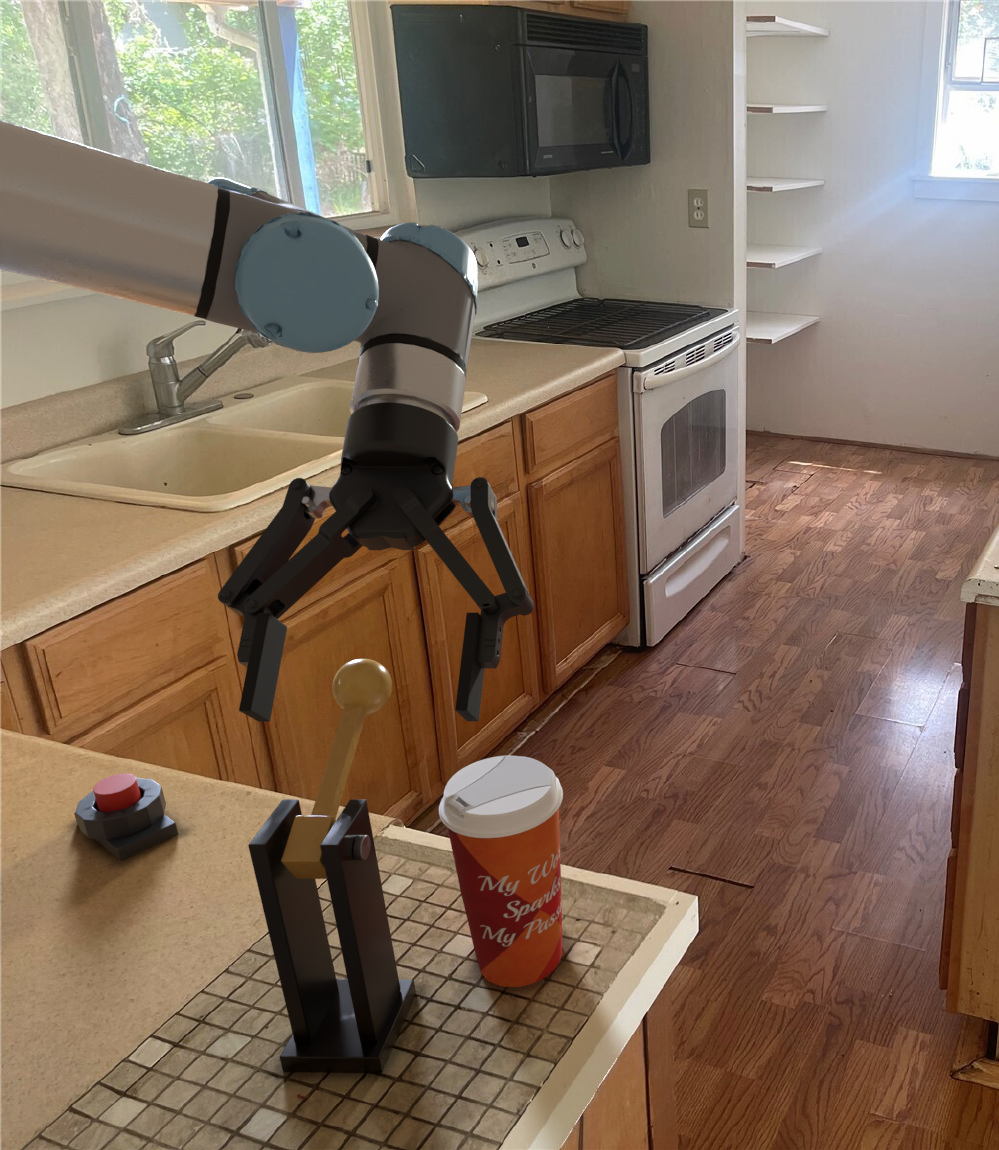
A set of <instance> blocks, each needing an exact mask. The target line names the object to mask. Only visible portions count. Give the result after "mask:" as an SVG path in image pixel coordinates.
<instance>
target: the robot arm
mask: <svg viewBox="0 0 999 1150" xmlns="http://www.w3.org/2000/svg"><path fill="white" fill-rule="evenodd" d="M0 270H1V271H4V272H8V273H13V274H17V275H21V276H25V277H29V278H33V279H38V280H42V281H46V282H51V283H55V284H59V285H63V286H66V287H71V288H75V289H80V290H84V291H87V292H93V293H96V294H101V295H105V296H109V297H113V298H117V299H121V300H126V301H130V302H132V303H133V302H134V303H139V304H142V305H146V306H150V307H155V308H158V309H161V310H162V309H163V310H167V311H171V312H175V313H179V314H184V315H188V316H192V317H194V318H195V317H196V318H199V319H203V320H206V321H209V322H212V323H215V324H220V325H222V326H223V325H224V326H228V327H232V328H236V329H239V330H244V331H249V332H252V333H256V334H260V335H261V336H263V337H264V338H265V339H267V340H269V341H271V342H272V343H274V344H275V345H277V346H280V347H283V348H287V349H289V350H294V351H296V352H302V353H308V354H309V353H310V354H321V353H329V352H333V351H336V350H339V349H342V348H343V347H346V346H349V345H350V344H351V343H353V342H357V343H359V344H360V348H359V349H360V350H359V355H358V359H357V360H358V361H357V368H356V374H355V379H354V384H353V388H352V393H351V398H350V403H349V412H350V415H349V416H348V419H347V421H346V428H345V434H344V439H343V440H344V441H343V445H342V452H341V455H340V456H341V457H340V471H339V472H340V473H339V476H338V478H337V480H336V481H335V482H334V484H333V485H332V486H330V487H329V486H320V485H312V484H310V483H308V482H307V480H306V479H305V478H302V477H296V478H294V479H293V480H291V481H290V483H289V485H288V488H287V491H286V493H285V498H284V500H283V504H282V506H281V508H280V509H279V510H278V511H277V513H276V514H275V516H274V517H273V519H272V520H271V521H270V522H269V524H268V525H267V527H266V528H265V530H264V531H263V532H262V533H261V534H260V535H259V537H258V539H257V540H256V542H255V543H254V544H253V545H252V547H251V548H250V550H248V552H247V554H246V555H245V556H244V558H243V559H242V560H241V562H240V563H239V565H238V566H237V567H236V568H235V570H234V571H233V572H232V574H231V575H230V577H229V578H228V579H227V580H226V582H225V583H224V585H223V586H222V587H221V589H220V590H219V592H218V594H217V599H218V601H219V602H220V603H221V604H222V605H224V606H225V607H227V608H228V609H229V610H230V611H232V612H233V613H235V614H236V615H238V616H240V617H243V624H242V628H241V633H240V638H239V643H238V648H237V654H236V656H237V660H238V661H237V662H238V663H239V664H241V665H242V666H244V667H246V671H245V676H244V682H243V688H242V693H241V698H240V703H239V707H238V712H241V713H242V714H244V715H246V716H247V717H249V718H251V719H253V720H255V721H256V722H258V723H259V722H262V723H265V722H268V723H269V722H271V718H272V714H273V713H272V712H273V707H274V702H275V697H276V696H275V695H276V692H277V686H278V680H279V674H280V669H281V664H282V659H283V653H284V647H285V642H286V637H287V630H288V626H287V625H286V624H284V623H283V622H282V621H281V620H279V619H280V618H281V617H282V616H283V615H285V613H286V612H288V610H289V609H290V608H291V607H293V606H294V605H295V604H296V603H297V602H298V601H299V600H300V599H301V598H303V597H304V595H306V594H307V593H308V592H309V591H310V590H311V589H312V588H313V587H314V586H315V585H317V583H319V581H321V580H322V579H323V578H324V577H325V576H326V575H327V574H328V573H330V572H331V571H332V569H334V568H335V567H336V566H337V565H338V564H339V563H340V562H342V561H343V560H344V559H347V558H350V557H353V556H354V555H355V554H356V553H357V552H358V551H359V550H360V549H361V548H362V547H365V548H367V550H368V551H383V550H387V549H397V550H401V551H415V548H416V547H419V546H421V545H422V544H424V543H425V542H427V544H428V545H429V546H430V548H431V550H433V551H434V553H435V554H436V556H438V558H439V559H440V560H441V561H442V563H443V564H444V565H445V566H446V568H447V569H448V571H450V573H451V574H452V575H453V577H454V578H455V579H456V581H457V582H458V584H460V585H461V587H462V588H463V590H464V591H465V592H466V593H467V594H468V595H469V597H470V598H471V600H473V602H474V603H475V605H476V606H477V608H479V610H480V613H479V612H466V615H465V624H464V633H463V640H462V647H461V648H462V650H461V657H460V664H459V665H460V666H459V672H458V673H459V675H458V683H457V692H456V699H455V700H456V701H455V706H454V707H455V708H454V709H455V710H454V711H455V712H456V713H457V714H458V715H459V716H461V718H462V719H464V720H465V722H480V712H481V702H482V694H483V685H484V675H485V669H497V668H498V666H499V664H500V662H501V655H502V654H501V653H502V645H503V635H504V627H505V624H506V622H507V621H508V620H509V619H511V618H514V617H517V616H520V615H521V616H529V615H530V614H532V613H533V612H534V610H535V604H534V602H533V599H532V597H531V595H530V594H531V593H529V590H528V588H527V585H526V583H525V581H524V579H523V576H522V574H521V572H520V569H519V567H518V565H517V563H516V561H515V559H514V558H515V557H514V556H513V554H512V551H511V549H510V546H509V545H508V542H507V540H506V538H505V535H504V533H503V531H502V528H501V526H500V524H499V522H498V498H497V496H496V493H495V492H494V491H493V488H492V487H491V484H490V483H489V481H488V480H487V479H486V478H485V477H482V476H479V477H476V478H473V479H472V481H471V482H470V484H469V485H462V486H461V485H460V486H454V485H453V481H454V476H455V470H456V469H455V468H456V462H457V455H458V454H457V453H458V447H459V446H458V445H459V435H458V431H459V430H460V428H461V427H460V426H461V421H462V411H463V406H464V399H465V398H464V397H465V390H466V382H467V379H466V377H467V371H468V370H467V368H468V362H469V355H470V349H471V341H472V336H473V330H474V325H475V318H476V315H477V314H478V313H477V312H478V303H479V302H478V287H479V277H478V275H479V273H478V272H479V269H478V262H477V259H476V256H475V253H474V252H473V250H472V249H471V248H470V246H469V245H468V244H467V243H466V242H465V241H464V240H463V239H462V238H461V237H459V236H458V235H457V234H455V233H454V232H452V231H451V230H449V229H447V228H445V227H441V226H439V225H436V224H429V225H427V226H423V225H421V224H419V223H417V222H415V221H413V222H412V221H410V222H404V223H398V224H396V225H394V226H392V227H390V228H388V229H387V230H386V231H385V232H384V233H383V234H382V236H381V237H380V238H379V237H376V236H375V237H374V236H371V235H370V234H364V233H361V232H359V231H357V230H354V229H353V228H350V227H348V226H345V225H343V224H341V223H340V222H338V221H335V220H333V219H330V218H327V217H324V216H322V215H320V214H317V213H316V212H312V211H310V210H308V209H306V208H304V207H301V206H298V205H296V204H294V203H291V202H289V201H286V200H284V199H281V198H280V197H277V196H275V195H271V194H269V193H268V192H267V191H265V190H262V189H260V188H257V187H254V186H252V187H250V186H247V185H245V184H242V183H239V182H236V181H234V180H232V179H229V178H225V177H214V178H211V179H209V180H208V181H207V182H206V181H202V180H199V179H196V178H192V177H189V176H186V175H183V174H180V173H177V172H173V171H170V170H166V169H163V168H161V167H156V166H153V165H150V164H147V163H143V162H140V161H138V160H133V159H130V158H127V157H124V156H122V155H121V156H120V155H118V154H114V153H111V152H109V151H105V150H101V149H98V148H96V147H91V146H89V145H86V144H85V145H84V144H82V143H79V142H75V141H72V140H69V139H65V138H62V137H59V136H56V135H52V134H50V133H46V132H42V131H39V130H36V129H33V128H29V127H26V126H23V125H19V124H16V123H13V122H10V121H6V120H3V119H0ZM329 507H332V508H333V510H334V511H335V512H334V513H333V514H331V515H330V516H329V517H328V518H326V520H324V522H323V523H322V524H320V525H319V527H318V533H317V534H316V535H314V537H312V538H311V539H310V540H309V541H308V542H307V543H306V544H305V545H304V546H303V547H302V548H300V549H299V550H298V551H297V549H298V548H299V547H300V545H301V544H302V542H303V541H304V540H305V538H306V537H307V535H308V534H309V532H311V529H312V528H313V525H314V524H315V521H316V519H322V518H323V516H324V511H325V510H327V509H328V508H329ZM457 507H461V508H462V510H463V511H464V513H465V515H466V516H467V517H469V518H472V519H473V520H474V522H475V525H476V527H477V529H478V531H479V533H480V536H481V538H482V540H483V543H484V546H485V548H486V550H487V552H488V554H489V557H490V559H491V562H492V564H493V566H494V568H495V571H496V573H497V576H498V577H499V580H500V582H501V585H502V587H503V589H504V592H503V593H501V594H497V595H494V593H493V592H492V591H491V590H490V589H489V587H488V586H487V584H486V583H485V582H484V581H483V579H481V577H480V575H478V573H477V572H476V571H475V570H474V568H473V567H472V566H471V564H469V562H468V561H467V560H466V558H465V557H464V556H463V555H462V554H461V552H460V551H459V550H458V548H457V547H456V546H455V544H454V543H453V542H452V541H451V540H450V538H449V537H448V536H447V535H446V533H445V532H444V531H443V529H442V528H441V527H440V526H441V525H442V524H443V523H444V521H446V520H447V518H448V517H449V516H450V515H452V513H453V512H454V511H455V509H456V508H457ZM346 530H347V534H346V535H344V536H342V534H343V533H344V532H345V531H346ZM296 551H297V552H296ZM295 552H296V553H295Z"/></svg>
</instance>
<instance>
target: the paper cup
mask: <svg viewBox="0 0 999 1150" xmlns="http://www.w3.org/2000/svg"><path fill="white" fill-rule="evenodd" d="M563 798H564V790H563V787H562V785H561V783H560V780H559V778H558V777H557V776H556V774H555V772H554V771H553V769H551V768H550V767H548V766H547V765H546V764H545V763H543V762H541V761H540V760H537V759H535V758H532V757H528V756H521V755H497V756H492V757H488V758H483V759H481V760H477V761H475V762H472V763H470V764H468V765H467V766H464V767H462V768H460V769H459V770H458V771H457V772H456V773H454V774H453V775H452V776H451V778H449V780H448V781H447V783H446V785H445V787H444V790H443V796H442V798H441V799H440V803H439V806H438V815H439V819H440V821H441V823H442V824H443V825H444V826H445V827H446V828H447V832H448V838H449V843H450V846H451V851H452V857H453V860H454V865H455V870H456V871H455V872H456V875H457V880H458V885H459V891H460V895H461V900H462V904H463V907H464V911H465V915H466V921H467V924H468V928H469V932H470V937H471V941H472V946H473V950H474V955H475V957H476V962H477V965H478V969H479V971H480V973H481V975H482V977H483V978H484V979H485V980H486V981H488V982H489V983H491V984H493V985H496V986H499V987H504V988H519V987H526V986H530V985H532V984H535V983H537V982H540V981H541V980H543V979H545V978H546V977H548V976H549V975H551V974H552V973H553V972H554V971H555V970H556V968H557V967H558V965H559V964H560V962H561V959H562V955H563V903H562V902H563V901H562V900H563V899H562V896H563V895H562V869H561V865H562V864H561V838H560V837H561V836H560V806H561V804H562V803H563V800H564V799H563Z"/></svg>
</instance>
